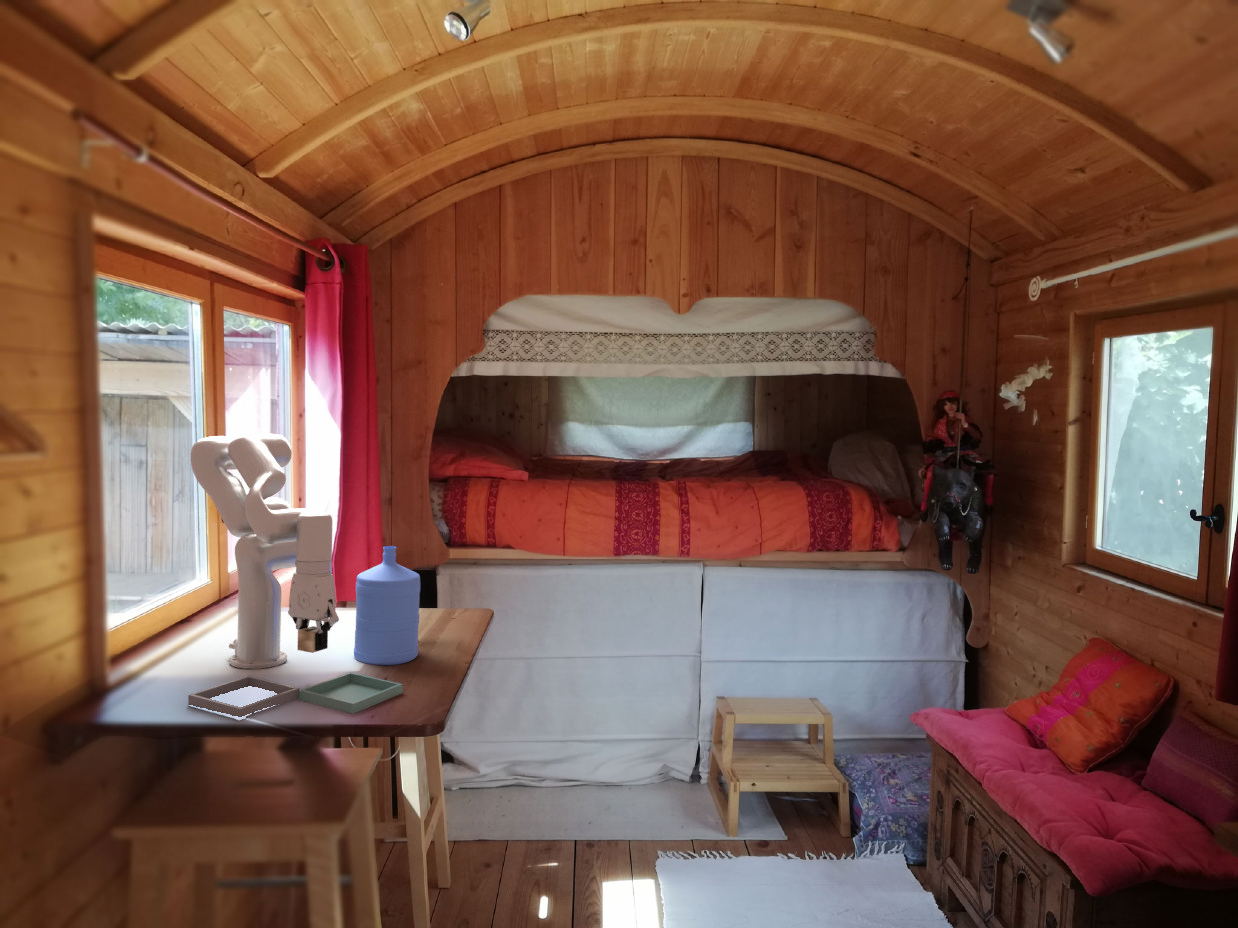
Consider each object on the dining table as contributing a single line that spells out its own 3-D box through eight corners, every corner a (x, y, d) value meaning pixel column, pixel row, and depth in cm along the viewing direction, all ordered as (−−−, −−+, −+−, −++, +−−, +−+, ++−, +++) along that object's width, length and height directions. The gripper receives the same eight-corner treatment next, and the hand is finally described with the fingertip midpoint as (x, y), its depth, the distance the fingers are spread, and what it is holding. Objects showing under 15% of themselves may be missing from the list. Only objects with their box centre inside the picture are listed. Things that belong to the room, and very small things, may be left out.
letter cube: (297, 649, 187) (297, 629, 187) (312, 645, 191) (313, 625, 191) (312, 652, 185) (312, 632, 185) (327, 648, 189) (327, 627, 189)
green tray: (298, 701, 176) (299, 690, 176) (350, 682, 190) (350, 671, 190) (353, 715, 170) (353, 703, 170) (402, 694, 183) (402, 683, 183)
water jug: (429, 659, 210) (433, 549, 208) (372, 670, 199) (376, 554, 197) (398, 645, 221) (401, 540, 219) (342, 654, 210) (345, 544, 208)
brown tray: (188, 706, 170) (188, 694, 170) (249, 686, 184) (249, 675, 184) (240, 720, 164) (240, 708, 164) (299, 699, 177) (299, 688, 177)
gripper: (273, 565, 187) (272, 646, 188) (329, 573, 180) (328, 657, 181) (299, 561, 194) (298, 638, 195) (354, 569, 187) (353, 649, 188)
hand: (312, 646), depth 188 cm, fingers closed on letter cube, 4 cm apart
